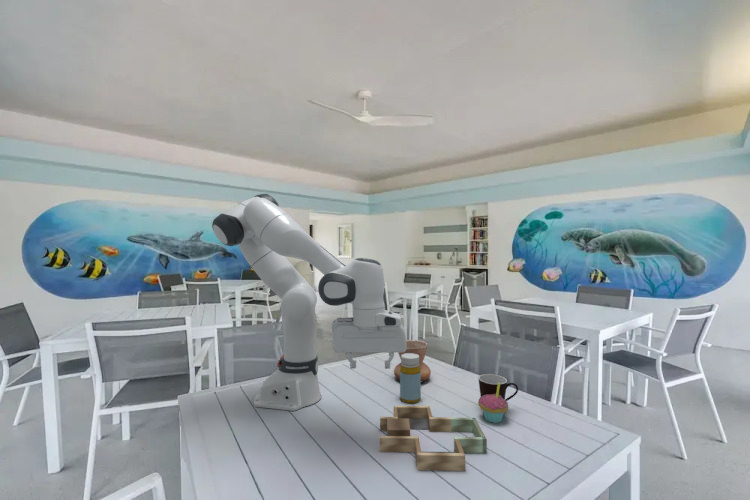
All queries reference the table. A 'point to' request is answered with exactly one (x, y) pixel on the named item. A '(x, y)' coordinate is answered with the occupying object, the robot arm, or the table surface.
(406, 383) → the bottle
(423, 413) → the box
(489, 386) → the coffee mug
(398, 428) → the block
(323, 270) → the robot arm
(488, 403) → the cupcake
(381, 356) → the table surface
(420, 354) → the ceramic jug
